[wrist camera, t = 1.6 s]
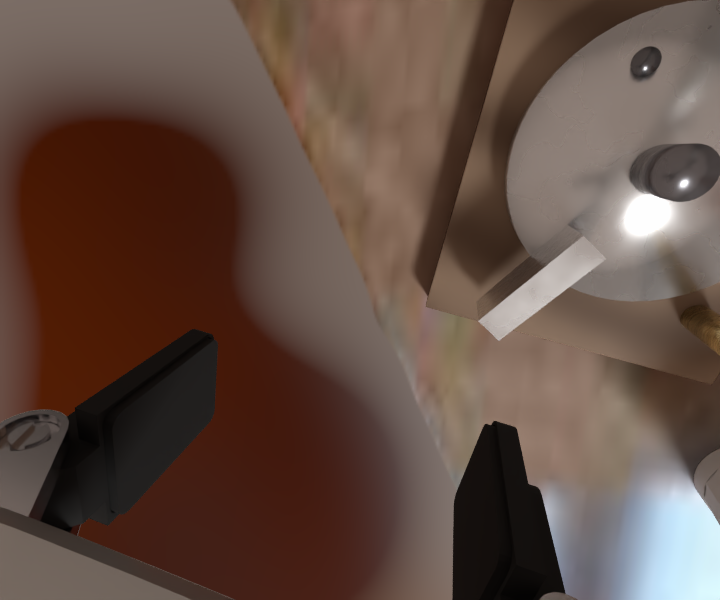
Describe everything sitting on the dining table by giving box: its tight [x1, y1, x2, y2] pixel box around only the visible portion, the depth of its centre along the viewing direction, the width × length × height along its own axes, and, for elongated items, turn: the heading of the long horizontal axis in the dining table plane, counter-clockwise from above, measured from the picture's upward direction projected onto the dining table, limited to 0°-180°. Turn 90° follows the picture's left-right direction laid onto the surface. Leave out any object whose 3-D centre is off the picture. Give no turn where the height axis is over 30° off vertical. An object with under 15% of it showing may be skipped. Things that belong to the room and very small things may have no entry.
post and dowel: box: [631, 143, 720, 355], centre depth 19 cm, size 12×2×6 cm, turn 32°
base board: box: [426, 0, 720, 385], centre depth 22 cm, size 22×18×2 cm
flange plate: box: [476, 0, 720, 340], centre depth 19 cm, size 18×14×4 cm
